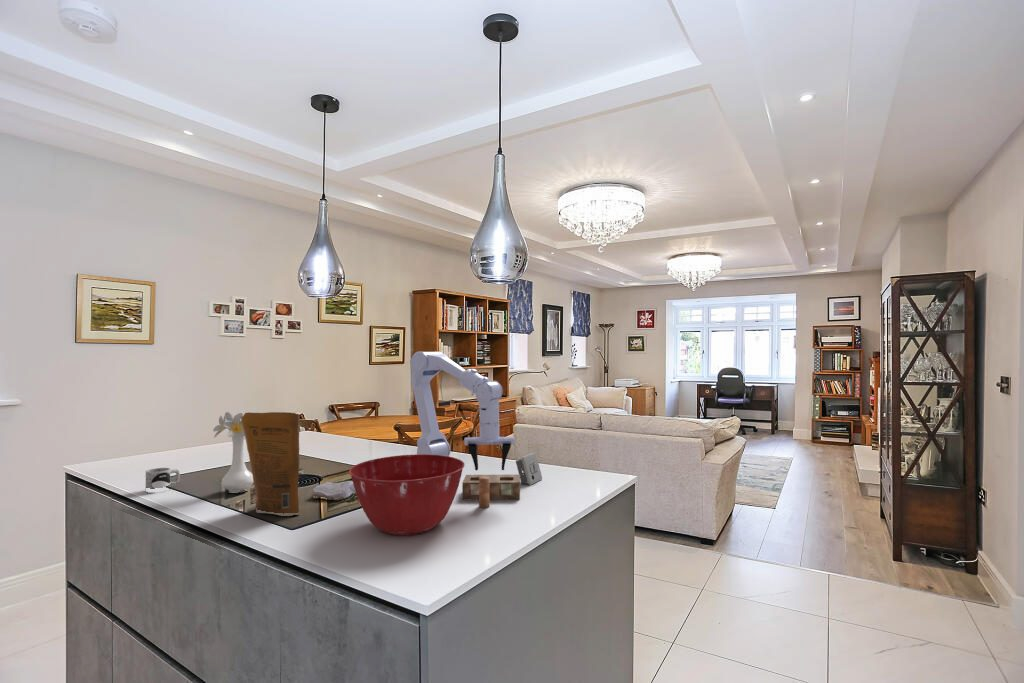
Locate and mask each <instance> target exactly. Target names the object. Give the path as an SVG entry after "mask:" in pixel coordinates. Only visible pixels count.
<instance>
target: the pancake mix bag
mask: <svg viewBox="0 0 1024 683" xmlns="http://www.w3.org/2000/svg"><path fill="white" fill-rule="evenodd" d="M300 417H301V415H299V414H297V413H295V412H285V411H284V412H282V411H278V412H276V411H274V412H273V411H270V412H249V411H248V412H245V413H244V414H243V416H241V419H240V421H241V423H242V427H243V430H244V434H245V436H244V440H245V443H246V449H247V450H246V451H247V454H248V459H249V463H250V469H251V473H252V474H253V486H254V490H255V496H256V503H255V509H256V508H257V510H261V511H266V512H274V513H283V514H284V513H298V512H300V506H299V505H300V503H299V500H300V499H299V476H300V475H299V473H300V472H299V471H300V470H299V469H300V420H301V418H300Z"/></svg>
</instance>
